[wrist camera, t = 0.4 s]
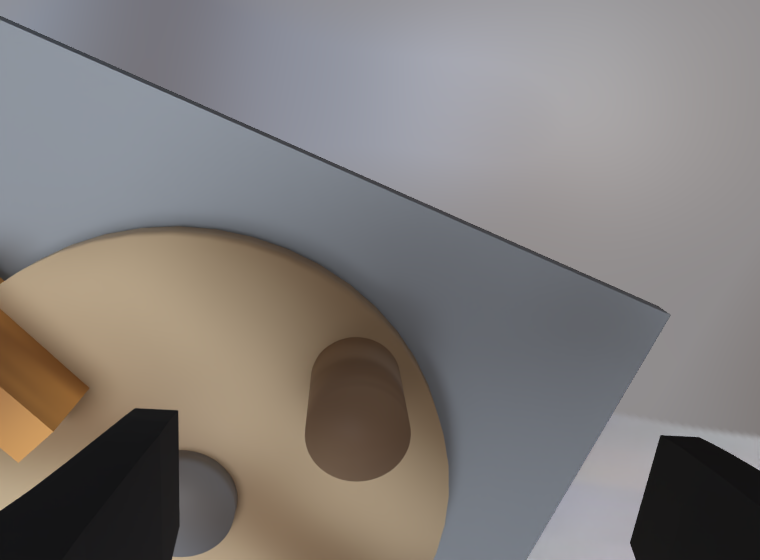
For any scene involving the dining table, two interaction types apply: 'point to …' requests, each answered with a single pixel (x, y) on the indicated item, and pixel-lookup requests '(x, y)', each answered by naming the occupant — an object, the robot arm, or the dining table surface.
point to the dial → (228, 392)
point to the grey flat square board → (337, 270)
